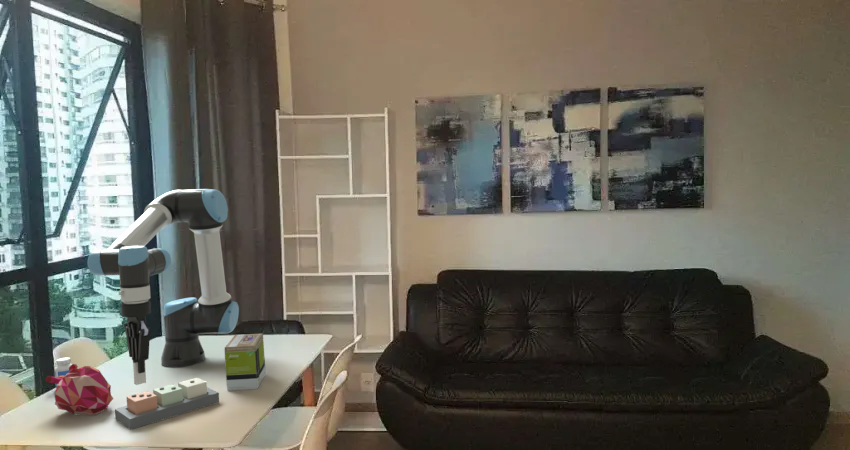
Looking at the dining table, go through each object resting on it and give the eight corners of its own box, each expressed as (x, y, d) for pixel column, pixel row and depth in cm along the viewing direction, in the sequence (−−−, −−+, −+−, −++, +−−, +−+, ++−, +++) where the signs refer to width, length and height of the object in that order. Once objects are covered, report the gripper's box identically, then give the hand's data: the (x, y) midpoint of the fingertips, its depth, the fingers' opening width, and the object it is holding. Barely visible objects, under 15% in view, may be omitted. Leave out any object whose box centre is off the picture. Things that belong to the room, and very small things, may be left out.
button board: (115, 419, 172) (114, 408, 172) (202, 393, 191) (201, 384, 191) (130, 429, 165) (129, 419, 165) (219, 402, 184) (218, 392, 184)
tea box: (236, 375, 208) (234, 333, 207) (266, 374, 209) (264, 332, 208) (226, 391, 193) (223, 346, 192) (258, 389, 194) (256, 344, 193)
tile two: (153, 402, 178) (153, 388, 177) (173, 396, 182) (173, 382, 182) (162, 407, 174) (161, 393, 173) (183, 401, 178) (182, 387, 178)
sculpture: (130, 401, 184) (86, 371, 191) (120, 377, 176) (75, 346, 183) (90, 436, 175) (45, 403, 181) (78, 412, 166) (31, 378, 173)
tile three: (127, 410, 172) (126, 395, 172) (148, 404, 177) (147, 389, 176) (135, 415, 168) (134, 400, 168) (157, 409, 173) (156, 394, 172)
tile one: (178, 395, 183) (178, 381, 183) (197, 390, 188) (197, 376, 187) (187, 400, 179) (187, 386, 179) (207, 394, 184) (206, 380, 183)
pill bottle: (78, 386, 201) (76, 357, 200) (64, 391, 196) (62, 362, 195) (66, 384, 203) (64, 356, 202) (52, 389, 198) (49, 360, 197)
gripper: (112, 300, 172) (117, 381, 173) (131, 306, 163) (135, 391, 164) (140, 296, 177) (144, 375, 179) (159, 301, 168) (163, 384, 170)
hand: (140, 383), depth 172 cm, fingers closed
